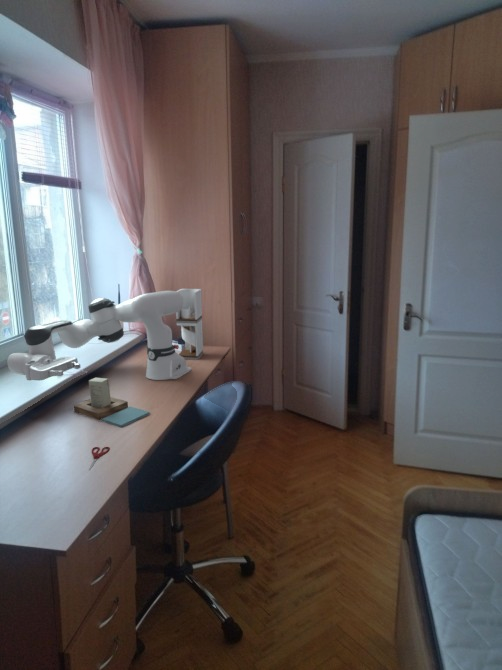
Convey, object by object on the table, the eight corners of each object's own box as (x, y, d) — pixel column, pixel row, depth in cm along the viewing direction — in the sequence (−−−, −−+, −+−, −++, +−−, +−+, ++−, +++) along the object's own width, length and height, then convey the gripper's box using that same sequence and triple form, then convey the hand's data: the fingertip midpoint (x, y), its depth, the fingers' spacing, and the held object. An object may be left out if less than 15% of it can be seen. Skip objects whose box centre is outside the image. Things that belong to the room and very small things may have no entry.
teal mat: (130, 408, 187) (130, 406, 187) (149, 413, 182) (149, 411, 182) (102, 420, 176) (101, 418, 176) (121, 427, 170) (121, 425, 170)
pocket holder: (103, 400, 195) (102, 394, 195) (128, 407, 188) (127, 401, 187) (74, 411, 184) (73, 405, 183) (99, 420, 176) (98, 413, 176)
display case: (183, 353, 263) (181, 288, 255) (203, 353, 261) (201, 289, 253) (177, 359, 252) (175, 291, 244) (197, 359, 250) (195, 292, 242)
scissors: (110, 449, 156) (110, 446, 155) (98, 471, 142) (98, 468, 142) (93, 449, 155) (93, 446, 155) (80, 471, 142) (79, 468, 142)
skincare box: (111, 408, 187) (109, 378, 184) (105, 413, 183) (102, 382, 180) (97, 406, 189) (95, 376, 186) (90, 410, 185) (88, 380, 182)
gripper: (62, 366, 201) (89, 370, 196) (23, 381, 183) (52, 385, 178) (60, 351, 200) (88, 355, 195) (21, 365, 181) (50, 369, 176)
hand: (70, 369), depth 186 cm, fingers open, 8 cm apart
